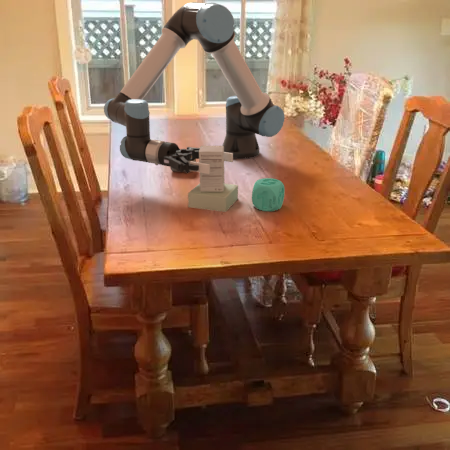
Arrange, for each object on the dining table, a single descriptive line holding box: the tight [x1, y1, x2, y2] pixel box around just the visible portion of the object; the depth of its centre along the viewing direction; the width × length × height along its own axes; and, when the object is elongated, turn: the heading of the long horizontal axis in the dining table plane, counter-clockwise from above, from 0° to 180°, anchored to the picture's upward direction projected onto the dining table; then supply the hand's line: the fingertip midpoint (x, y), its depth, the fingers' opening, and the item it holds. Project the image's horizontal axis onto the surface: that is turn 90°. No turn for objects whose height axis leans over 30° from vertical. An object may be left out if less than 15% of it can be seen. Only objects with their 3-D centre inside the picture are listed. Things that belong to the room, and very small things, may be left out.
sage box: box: [187, 183, 239, 213], centre depth 178 cm, size 12×12×5 cm
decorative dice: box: [251, 177, 286, 212], centre depth 175 cm, size 8×8×8 cm
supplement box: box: [198, 145, 225, 192], centre depth 175 cm, size 7×7×13 cm
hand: (221, 163), depth 173 cm, fingers open, 13 cm apart
